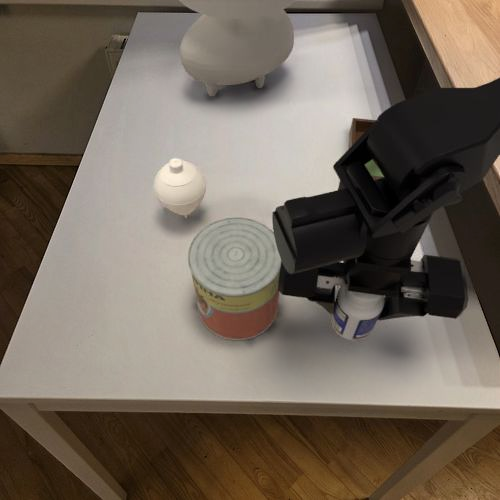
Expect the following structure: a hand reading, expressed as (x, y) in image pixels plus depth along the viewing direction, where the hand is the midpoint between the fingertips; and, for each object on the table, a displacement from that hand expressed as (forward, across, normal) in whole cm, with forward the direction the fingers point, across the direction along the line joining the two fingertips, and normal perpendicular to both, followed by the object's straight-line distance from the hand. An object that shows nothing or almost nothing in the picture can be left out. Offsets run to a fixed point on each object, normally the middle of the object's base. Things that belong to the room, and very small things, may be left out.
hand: (355, 313), depth 54 cm
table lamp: (+8, +24, -53) cm, 59 cm away
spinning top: (+7, +26, -17) cm, 32 cm away
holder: (+7, -3, -35) cm, 36 cm away
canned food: (+7, +15, -3) cm, 17 cm away
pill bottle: (+2, 0, 0) cm, 2 cm away
